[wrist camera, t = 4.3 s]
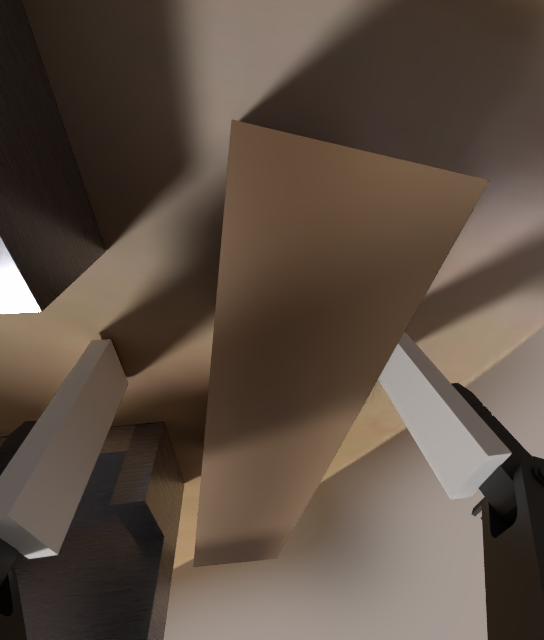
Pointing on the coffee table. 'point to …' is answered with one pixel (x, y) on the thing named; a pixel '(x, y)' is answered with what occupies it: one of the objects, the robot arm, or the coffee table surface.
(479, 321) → the coffee table surface
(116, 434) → the grey stand
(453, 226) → the rail
